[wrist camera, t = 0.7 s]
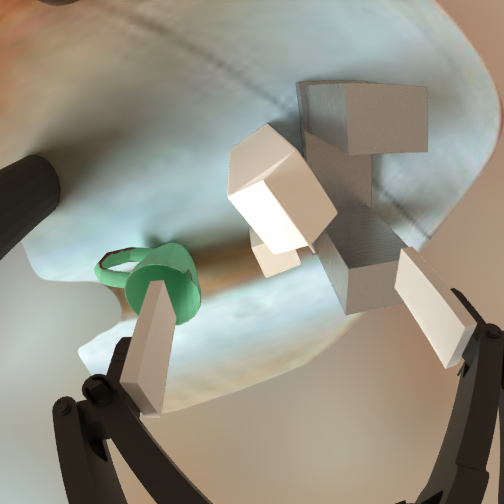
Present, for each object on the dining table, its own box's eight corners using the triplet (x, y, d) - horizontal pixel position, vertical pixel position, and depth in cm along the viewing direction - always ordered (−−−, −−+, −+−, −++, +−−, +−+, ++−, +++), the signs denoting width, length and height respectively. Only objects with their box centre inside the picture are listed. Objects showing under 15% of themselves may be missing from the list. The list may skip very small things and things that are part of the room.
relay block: (248, 227, 43) (251, 247, 38) (281, 214, 43) (288, 233, 37) (261, 255, 46) (265, 278, 41) (293, 242, 45) (301, 264, 40)
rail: (295, 82, 34) (336, 77, 20) (361, 81, 34) (430, 82, 20) (309, 248, 46) (340, 319, 32) (364, 239, 45) (411, 303, 32)
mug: (213, 235, 44) (208, 274, 35) (198, 289, 48) (192, 333, 39) (116, 212, 41) (89, 245, 32) (111, 267, 45) (89, 307, 36)
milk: (266, 122, 36) (308, 155, 17) (293, 159, 39) (355, 230, 20) (228, 150, 38) (225, 213, 18) (255, 185, 40) (280, 278, 21)
